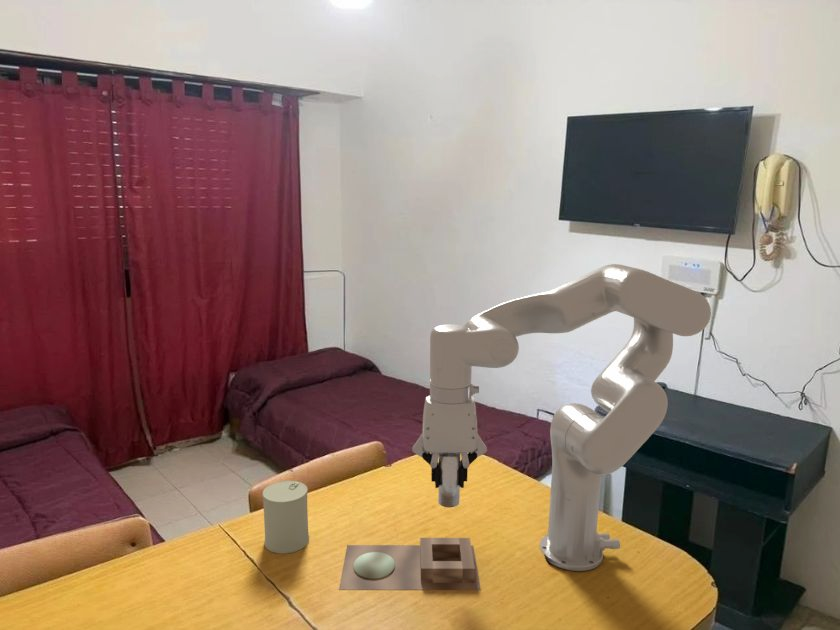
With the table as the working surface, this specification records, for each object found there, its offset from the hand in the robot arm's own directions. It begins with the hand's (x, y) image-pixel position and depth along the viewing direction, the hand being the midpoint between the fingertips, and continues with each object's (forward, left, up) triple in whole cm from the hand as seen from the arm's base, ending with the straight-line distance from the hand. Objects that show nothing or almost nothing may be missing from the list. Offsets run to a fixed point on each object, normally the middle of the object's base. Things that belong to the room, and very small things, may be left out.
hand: (449, 483), depth 113 cm
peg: (0, 0, -4) cm, 4 cm away
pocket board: (+7, 0, -18) cm, 20 cm away
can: (+33, -10, -19) cm, 39 cm away
